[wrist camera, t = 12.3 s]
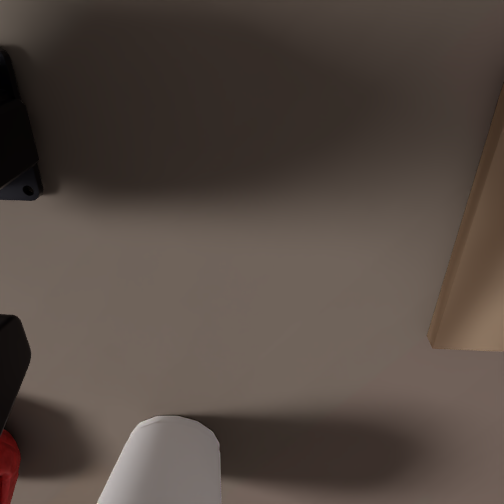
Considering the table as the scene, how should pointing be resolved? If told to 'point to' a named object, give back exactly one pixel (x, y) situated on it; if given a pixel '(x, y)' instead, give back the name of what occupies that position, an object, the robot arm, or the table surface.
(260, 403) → the table surface
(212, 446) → the foam cup
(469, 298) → the collar plate
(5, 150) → the robot arm
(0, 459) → the pomegranate
